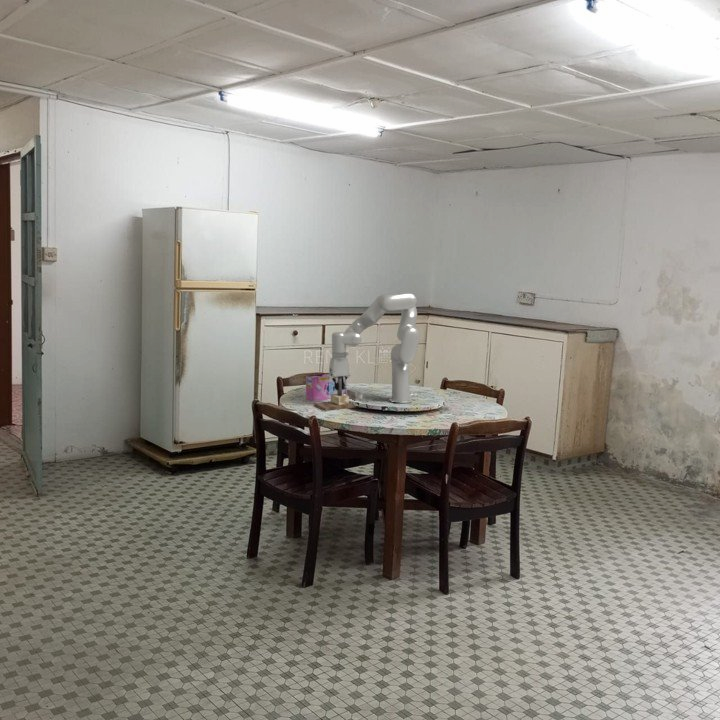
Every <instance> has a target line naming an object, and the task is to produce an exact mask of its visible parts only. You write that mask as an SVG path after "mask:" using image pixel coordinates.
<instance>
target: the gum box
mask: <svg viewBox="0 0 720 720" xmlns="http://www.w3.org/2000/svg"><path fill="white" fill-rule="evenodd" d="M328 377H329V372H327V373H318V374H311V375H305V394H306V396H305V399H306V400H308V401H311V402H318V401H319V402H320V401H324V400H325V401H326V400H331V394H337V390H336V389H335V382H334V381H333V380H331V379H329V378H328ZM332 377H333V376H332ZM333 378H334V377H333ZM344 385H345V387H344V390H343V389H342V394H347V380H346V381H345V382H344Z"/></svg>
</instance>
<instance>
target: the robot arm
mask: <svg viewBox="0 0 720 720" xmlns="http://www.w3.org/2000/svg"><path fill="white" fill-rule="evenodd" d="M417 303H418V300H417V297H416V295H415V294H414V293H412V292H407V291H406V292H405V291H400V292H398V293H397V294H386V293H381V294H380V295H379V296H377V298H375V300H374V301H373V302H372V303H371V304H370V306H368V308H366V310H365V311H364V312H363V314H361V315H360V316H358V317H357V318H356V319H355V320H354V321H352V323H351V324H350V325H349V326H348V327H347V328H346V329H345V331H344V332H343V331H336V332H332V334H331V357H330V359H329V368H328V373H329V377H328V378H329V379H331V380H333V381H334V382H335V389H336V390H339V383H338V377H342V389H343V390H344V387H345V385H344V382H345V381H346V382H347V380H348V379H349V378H350V377H351V374H350V366H349V361H348V360H349V359H348V357H347V356H348V355H349V352H347V346H349V347H356V346H357V347H358V346H359V345H360V344H361V342H362V336H361V334H362V333H363V332H364V331H365V330H366V329H368V328H370V327H372V326H374V325H376V324H377V323H378V322H379V320H380V319H381V318H382V317H383V315H385V313H386V312H387V311H389V312H393V311H394V312H395V311H400V312H401V315H400V316H401V317H400V321H399V325H398V329H397V333H396V337H397V339H398V340H399V341H400V342H401V343H398V344H395V345H394V346H392V348H391V350H390V360H391V398H389V399H388V401H389V400H390V401H394V402H401V403H400V404H410V403H411V402H413V398H415V397H417V396H418V393H416V392H415V393H411V392H410V364H411V363H412V362H413V361H414V360H415V358H416V356H417V355H416V354H417V351H418V347H419V343H420V337H421V336H420V331H419V330H418V329H417V327H416V324H417V320H418V319H417V318H418V310H417V307H416V305H417ZM332 376H333V377H334V378H333V377H332ZM390 401H389V402H390Z"/></svg>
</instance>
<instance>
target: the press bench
mask: <svg viewBox="0 0 720 720" xmlns="http://www.w3.org/2000/svg"><path fill="white" fill-rule="evenodd" d="M346 390H347V396H349V399H352V400H354V401H362V402H363V391H361V390H358V389H356V388H348V389H347V388H346ZM313 407H315V408H318V409H320V410H323V411H325V412H329V411H336V410H343V409H350V408H357V407H356V406H355V405H354V404H350V403H349V404H343V405H338V404H335V403H333V402H331V400H330V401H329V400H328V401H322V402H315V403H313Z"/></svg>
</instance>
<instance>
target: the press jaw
mask: <svg viewBox="0 0 720 720" xmlns="http://www.w3.org/2000/svg"><path fill="white" fill-rule="evenodd" d="M338 383H339V390H337V394H331V399H330V401H331V402H333V403H335V404H338V405H343V404H349V396H347V395H344V394H342V377H338Z"/></svg>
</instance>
